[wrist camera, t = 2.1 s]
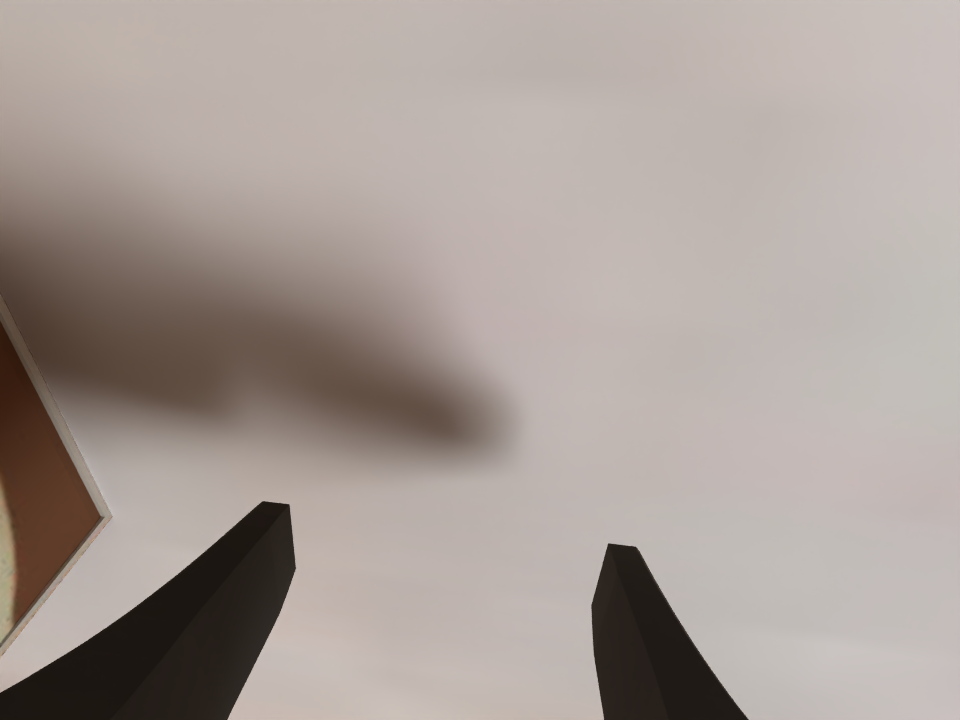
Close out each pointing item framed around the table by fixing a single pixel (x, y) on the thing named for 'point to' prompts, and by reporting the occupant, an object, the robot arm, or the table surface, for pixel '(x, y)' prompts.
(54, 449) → the food container
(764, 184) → the table surface
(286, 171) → the table surface
